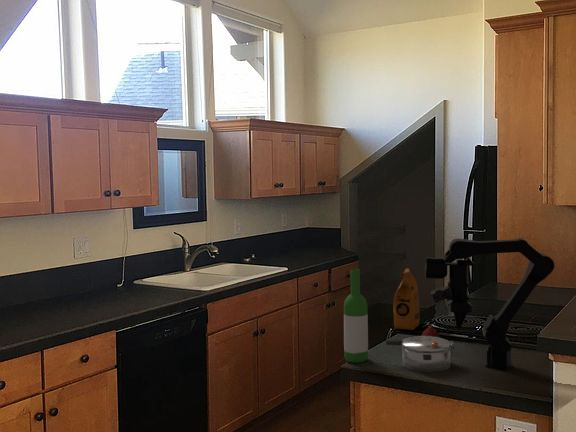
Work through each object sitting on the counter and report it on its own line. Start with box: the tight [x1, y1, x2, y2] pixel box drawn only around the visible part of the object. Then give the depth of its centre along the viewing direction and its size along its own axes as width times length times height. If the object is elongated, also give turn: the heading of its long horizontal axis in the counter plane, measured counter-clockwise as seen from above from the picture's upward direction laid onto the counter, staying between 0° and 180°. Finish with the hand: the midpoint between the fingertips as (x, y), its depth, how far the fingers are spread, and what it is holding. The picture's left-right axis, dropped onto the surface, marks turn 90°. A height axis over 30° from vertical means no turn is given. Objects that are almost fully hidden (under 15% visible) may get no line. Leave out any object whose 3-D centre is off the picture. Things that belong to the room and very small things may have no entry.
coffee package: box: [393, 267, 420, 331], centre depth 254 cm, size 10×12×22 cm
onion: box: [421, 325, 440, 338], centre depth 225 cm, size 6×6×8 cm
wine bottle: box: [343, 268, 369, 364], centre depth 212 cm, size 8×8×30 cm
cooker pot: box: [401, 346, 451, 373], centre depth 208 cm, size 15×19×6 cm
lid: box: [385, 335, 456, 353], centre depth 208 cm, size 21×15×2 cm
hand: (458, 328), depth 205 cm, fingers closed
